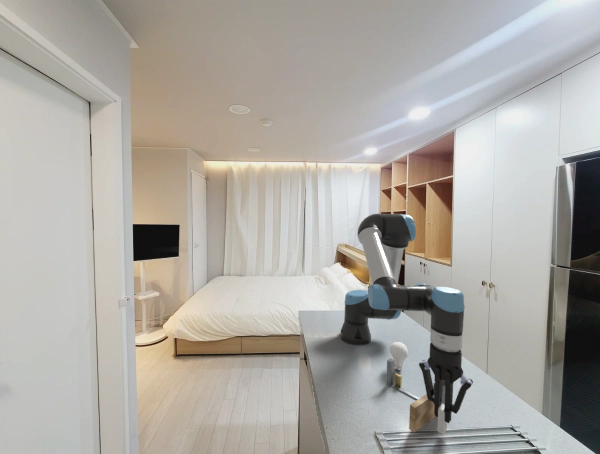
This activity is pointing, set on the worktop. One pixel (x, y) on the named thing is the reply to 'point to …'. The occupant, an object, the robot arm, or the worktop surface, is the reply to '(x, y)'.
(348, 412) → the worktop surface
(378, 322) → the worktop surface
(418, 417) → the gate
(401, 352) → the light bulb
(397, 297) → the robot arm
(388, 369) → the gate frame
